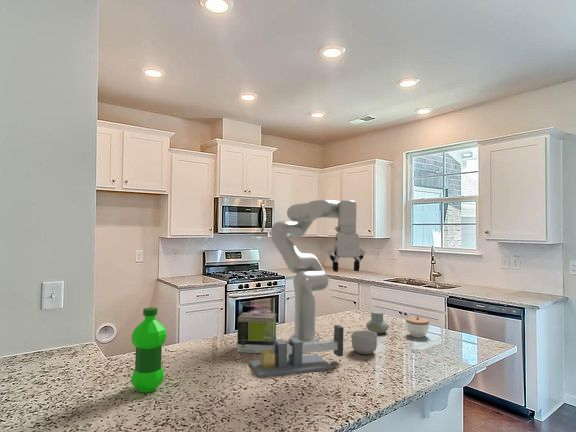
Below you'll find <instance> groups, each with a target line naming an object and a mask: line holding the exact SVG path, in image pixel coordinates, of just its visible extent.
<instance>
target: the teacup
mask: <svg viewBox="0 0 576 432" xmlns="http://www.w3.org/2000/svg"><path fill="white" fill-rule="evenodd" d="M350 336H351V348H352V349H353V350H354V351H355V353H357V354H359V355H371V354H373V353H374V352H375V351H376V350H377V348H378V347H377V346H378V337H377V336H378V334H377V333H375V332H372V331H370V330H368V329H367V330H355V331H352V332H351V334H350Z"/></svg>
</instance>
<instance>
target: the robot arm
mask: <svg viewBox="0 0 576 432" xmlns="http://www.w3.org/2000/svg"><path fill="white" fill-rule="evenodd" d="M286 215H287V218H288V219H289V220H281V221H277V222H274V223H273V225H272V226H271V230H270V236H271V239H272V243H273V244H274V246H275V247H276V249H277V250H278V251H279V253H280V255H281V257H282V259H283V261H284V263H285V264H286V266H287V267H286V268H288V270H289V272H291V273H292V274H295V275H294V277H293V282H292V283H293V289H294V330H293V331H294V332H293V333H294V334H292V335H291V336H290V338H298V339H299V340H300V341H302V342H313V341H319V337H318V336H317V335H316V298H315V295H314V294H313V292H318V291H324V290H325V289H327V287H328V285H329V276H328V275H327V272H326V271H325V269H324V267H323V266H322V264H321V262H320V260H319V259H318V258H317V256H316V255H315V254H312V253H310V252H309V253H308V252H306V253H305V252H304V253H303V252H300V251H299V249H298V247H297V246H296V244H295V243H294V241H292V240H290V239H299V238H302V237H303V236H305V234H306V233H307V231H308V229H309V228H310V227H311V226H312V224H313V223H314V221H315V220H317V219H318V218H322V219H323V218H328V219H330V218H331V219H337V226H335V227H334V229H335V231H337V233H335V237H334V245H333V247H331V248H330V249H328V250H327V251H326V253H327V256H328V258H329V259H330V260H331V262H332V271H333V272H336V273H338V272H339V262H338V261H339V260H340V258H350V259H351V258H353V260H354V262H353V271H355V272H359V271H360V266H361V265H360V262H362V259H363V258H364V256H365V254H366V250H365V249H362V248H361V246H360V237H359V234H358V233H357V202H356V201H355V200H352V199H351V200H350V199H344V200H334V199H333V200H330V199H317V200H312V201H309V202H301V203H296V204H292V205H290V206H289V207H288V208H287V210H286Z"/></svg>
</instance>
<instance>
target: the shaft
mask: <svg viewBox="0 0 576 432" xmlns="http://www.w3.org/2000/svg"><path fill="white" fill-rule="evenodd" d="M333 328H334V329H333V339H327V340H325V339H324V340H318V341H313V342H302V354H308V353H315V352H316V353H317V352H327V351H329V352H330V351H333V354H334V355H335V356H336V357H344V327H343V326H342V325H339V324H337V325H333ZM289 354H294V345H293V344H292V343H290V344H289V343H287V356H289Z"/></svg>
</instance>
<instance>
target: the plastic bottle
mask: <svg viewBox="0 0 576 432" xmlns="http://www.w3.org/2000/svg"><path fill="white" fill-rule="evenodd" d="M142 310H143V311H142V316H144V320H142V321H141V322H140V323H139V324H138V325H137V326H136V327H135V328H134V329H133V331H132V334H131V342H132V343H131V344H132V345H133V346H134V347H135V356H134V357H135V358H134V359H135V360H134V369H133V373H132V376H131V381H130V383H131V384H132V386H133V387H134V388H136V390H138V391H139V392H140V393H152V392H153V391H155V390H157V388H159V386H161V385H162V383H163V381H164V376H165V371H164V369H163V366H162V353H163V352H162V351H163V349H162V348H163V344H164V343H165V342H166V338H167V328H166V326H164V325H163V324H162V323H161V322H159V321H158V320H157V319H156V316H157V315H158V308H157V307H145V308H143V309H142Z"/></svg>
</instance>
